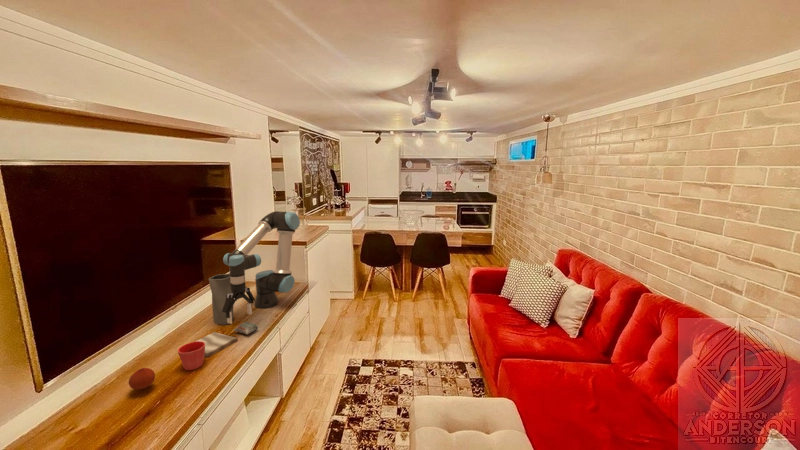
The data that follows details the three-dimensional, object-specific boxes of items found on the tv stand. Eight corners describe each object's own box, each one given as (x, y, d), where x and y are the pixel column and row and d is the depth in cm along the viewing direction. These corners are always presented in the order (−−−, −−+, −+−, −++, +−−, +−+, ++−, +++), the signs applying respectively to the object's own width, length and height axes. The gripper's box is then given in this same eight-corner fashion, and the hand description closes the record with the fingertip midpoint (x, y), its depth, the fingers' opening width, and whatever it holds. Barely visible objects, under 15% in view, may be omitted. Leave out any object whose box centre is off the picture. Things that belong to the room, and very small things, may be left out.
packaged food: (247, 337, 179) (246, 329, 178) (232, 333, 184) (232, 325, 183) (259, 331, 187) (259, 323, 186) (245, 327, 192) (245, 319, 191)
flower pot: (182, 362, 156) (180, 343, 155) (208, 357, 160) (206, 339, 159) (177, 374, 147) (175, 354, 145) (205, 368, 151) (203, 349, 149)
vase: (208, 327, 192) (203, 279, 187) (221, 318, 204) (217, 273, 199) (227, 328, 190) (223, 280, 186) (240, 319, 202) (236, 273, 198)
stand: (214, 334, 183) (214, 331, 183) (237, 340, 176) (237, 337, 176) (183, 350, 167) (182, 346, 166) (207, 357, 160) (206, 354, 160)
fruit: (132, 384, 140) (129, 367, 138) (157, 378, 144) (155, 361, 143) (127, 396, 132) (124, 378, 131) (154, 389, 136) (151, 372, 135)
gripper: (250, 275, 194) (252, 309, 197) (213, 288, 171) (215, 326, 174) (260, 277, 191) (261, 311, 194) (223, 290, 168) (225, 328, 171)
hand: (240, 318), depth 184 cm, fingers open, 13 cm apart
